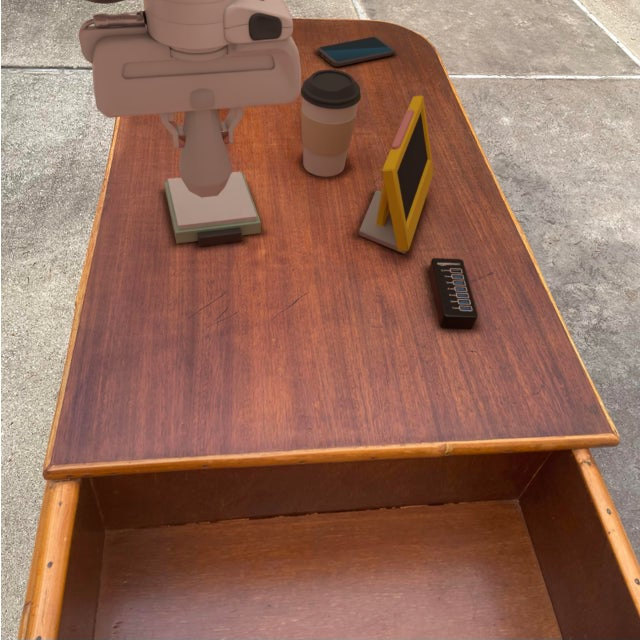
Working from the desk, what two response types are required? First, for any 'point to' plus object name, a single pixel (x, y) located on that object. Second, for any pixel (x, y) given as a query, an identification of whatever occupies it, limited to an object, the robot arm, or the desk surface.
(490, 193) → the desk surface
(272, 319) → the desk surface
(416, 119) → the toy computer monitor
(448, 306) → the multiport hub
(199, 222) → the scale
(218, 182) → the salt shaker
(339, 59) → the smartphone
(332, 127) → the coffee cup
